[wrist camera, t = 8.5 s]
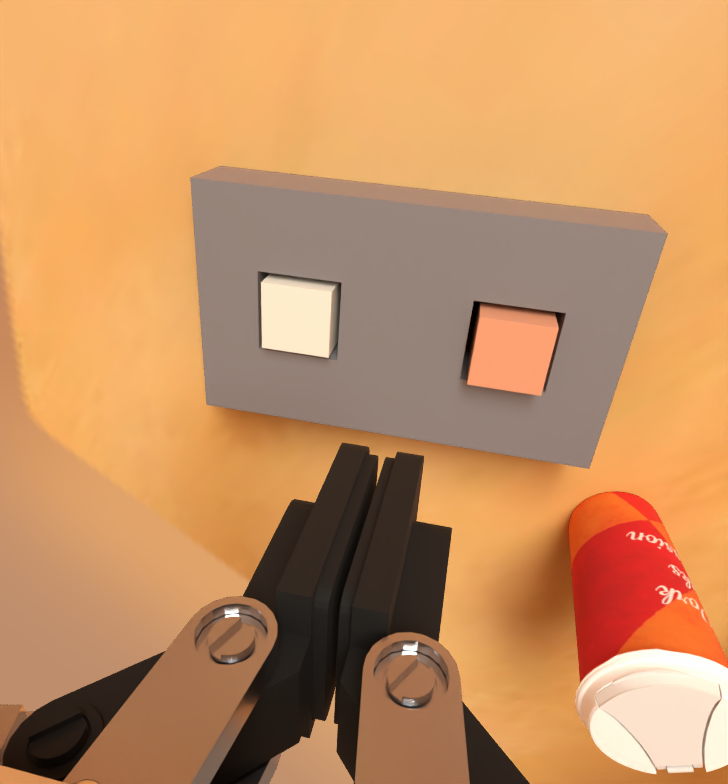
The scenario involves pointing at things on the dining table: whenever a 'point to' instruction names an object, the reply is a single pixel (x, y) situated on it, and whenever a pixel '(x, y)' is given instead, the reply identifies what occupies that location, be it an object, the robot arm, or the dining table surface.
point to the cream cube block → (300, 314)
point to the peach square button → (511, 348)
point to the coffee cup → (643, 643)
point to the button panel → (418, 306)
